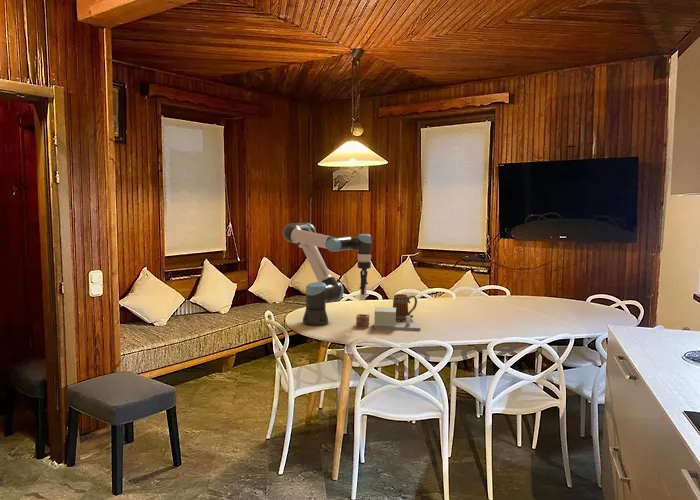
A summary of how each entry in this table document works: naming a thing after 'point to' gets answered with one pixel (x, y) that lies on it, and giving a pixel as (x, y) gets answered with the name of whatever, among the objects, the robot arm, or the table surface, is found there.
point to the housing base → (402, 326)
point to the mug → (403, 306)
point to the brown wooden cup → (362, 320)
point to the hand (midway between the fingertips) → (363, 297)
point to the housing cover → (385, 316)
